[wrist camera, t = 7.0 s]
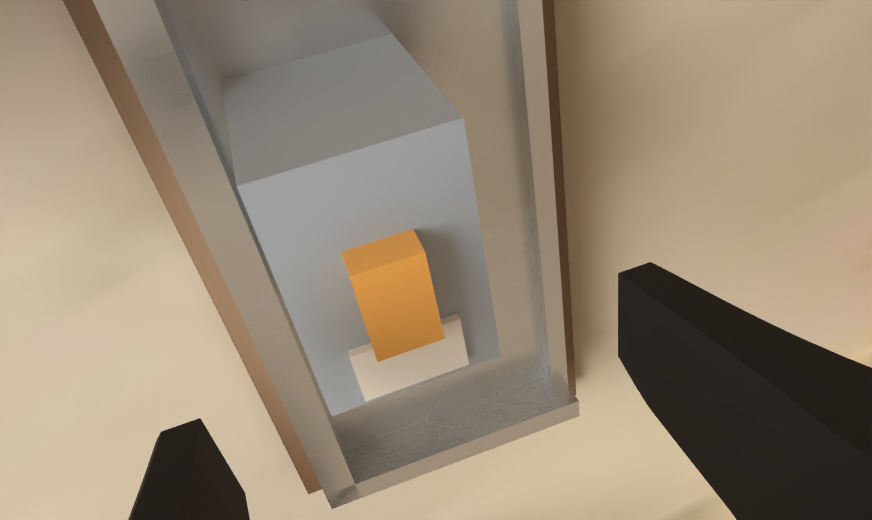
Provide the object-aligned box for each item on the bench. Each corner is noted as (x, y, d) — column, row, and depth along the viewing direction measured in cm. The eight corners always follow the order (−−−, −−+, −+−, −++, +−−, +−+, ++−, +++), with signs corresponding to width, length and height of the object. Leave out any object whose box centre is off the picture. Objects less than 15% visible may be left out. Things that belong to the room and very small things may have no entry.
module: (391, 33, 16) (479, 136, 11) (435, 239, 19) (514, 380, 15) (221, 81, 15) (239, 211, 11) (299, 283, 19) (338, 444, 14)
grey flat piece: (474, -464, 12) (528, -508, 10) (549, 369, 26) (579, 415, 24) (-51, -373, 11) (-99, -405, 9) (319, 452, 24) (331, 508, 22)
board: (498, -626, 12) (516, -649, 11) (567, 380, 28) (576, 394, 27) (-188, -533, 10) (-212, -552, 9) (305, 476, 26) (308, 493, 25)
